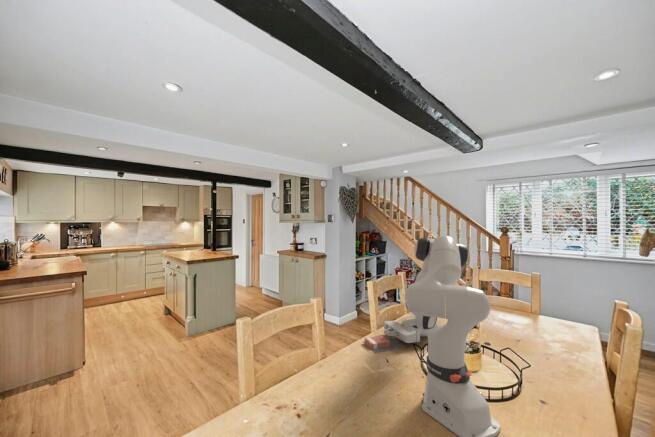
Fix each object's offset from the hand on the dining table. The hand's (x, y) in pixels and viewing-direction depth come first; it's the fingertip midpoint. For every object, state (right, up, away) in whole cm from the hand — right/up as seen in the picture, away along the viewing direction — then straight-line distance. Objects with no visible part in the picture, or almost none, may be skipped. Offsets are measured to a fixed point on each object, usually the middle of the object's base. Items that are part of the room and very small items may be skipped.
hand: (385, 332), depth 131 cm
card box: (0, -4, 0) cm, 4 cm away
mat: (-1, -6, -2) cm, 6 cm away
